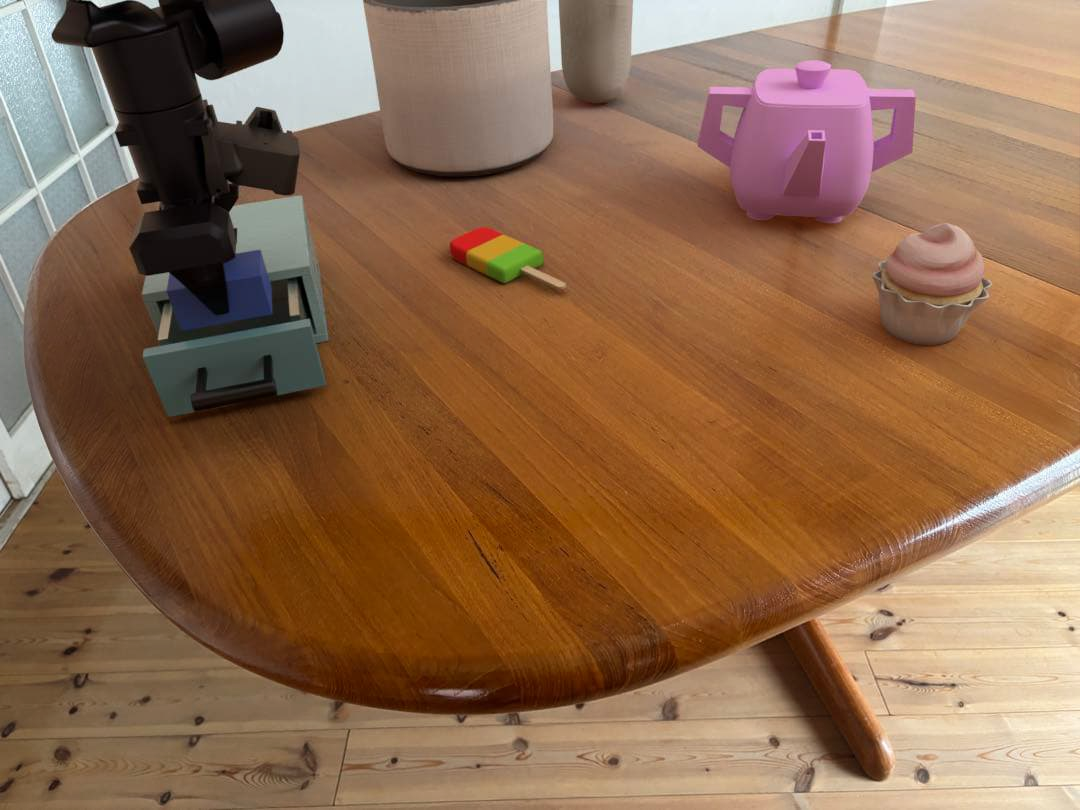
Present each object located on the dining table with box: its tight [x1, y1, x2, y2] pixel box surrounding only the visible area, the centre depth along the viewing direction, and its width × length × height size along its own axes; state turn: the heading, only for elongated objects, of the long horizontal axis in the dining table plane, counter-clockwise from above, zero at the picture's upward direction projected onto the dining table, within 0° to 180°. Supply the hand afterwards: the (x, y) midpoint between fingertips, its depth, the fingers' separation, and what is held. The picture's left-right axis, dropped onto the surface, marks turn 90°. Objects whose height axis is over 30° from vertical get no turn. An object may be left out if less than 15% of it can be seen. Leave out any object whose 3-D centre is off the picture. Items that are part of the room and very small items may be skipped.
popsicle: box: [449, 226, 567, 290], centre depth 83 cm, size 6×15×2 cm, turn 44°
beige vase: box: [558, 0, 634, 104], centre depth 116 cm, size 10×10×28 cm
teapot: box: [697, 59, 917, 224], centre depth 88 cm, size 19×18×15 cm
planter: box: [362, 0, 555, 178], centre depth 105 cm, size 23×23×20 cm
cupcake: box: [871, 222, 993, 346], centre depth 69 cm, size 9×9×10 cm
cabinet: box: [141, 195, 330, 344], centre depth 78 cm, size 16×14×8 cm
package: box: [167, 250, 273, 331], centre depth 65 cm, size 5×7×4 cm, turn 106°
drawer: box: [142, 276, 327, 418], centre depth 69 cm, size 20×13×6 cm, turn 16°
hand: (223, 298), depth 66 cm, fingers closed on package, 5 cm apart
